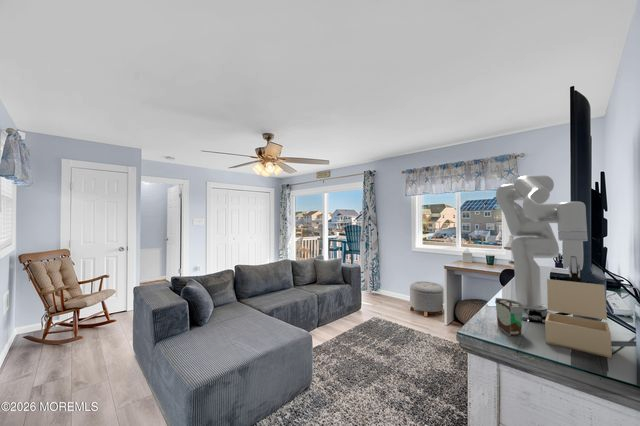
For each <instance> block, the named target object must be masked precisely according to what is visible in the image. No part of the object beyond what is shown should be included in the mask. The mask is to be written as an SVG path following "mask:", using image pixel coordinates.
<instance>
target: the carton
mask: <svg viewBox="0 0 640 426" xmlns="http://www.w3.org/2000/svg"><path fill="white" fill-rule="evenodd" d="M544 320H545V324H544V326H545V327H544V328H545V344H548V345H552V346H557V347H561V348H565V349H568V350H569V349H570V350H574V351H578V352H583V353H587V354H590V355H595V356H600V357H604V358H608V359H613V354H612V353H613V352H612V337H611V331H610V326H609V324H608V321H600V320H594V319H588V318H583V317H577V316H571V315H565V314H564V315H563V314H558V313H555V312H554V313H553V312H547V314H546V316H545V319H544Z"/></svg>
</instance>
